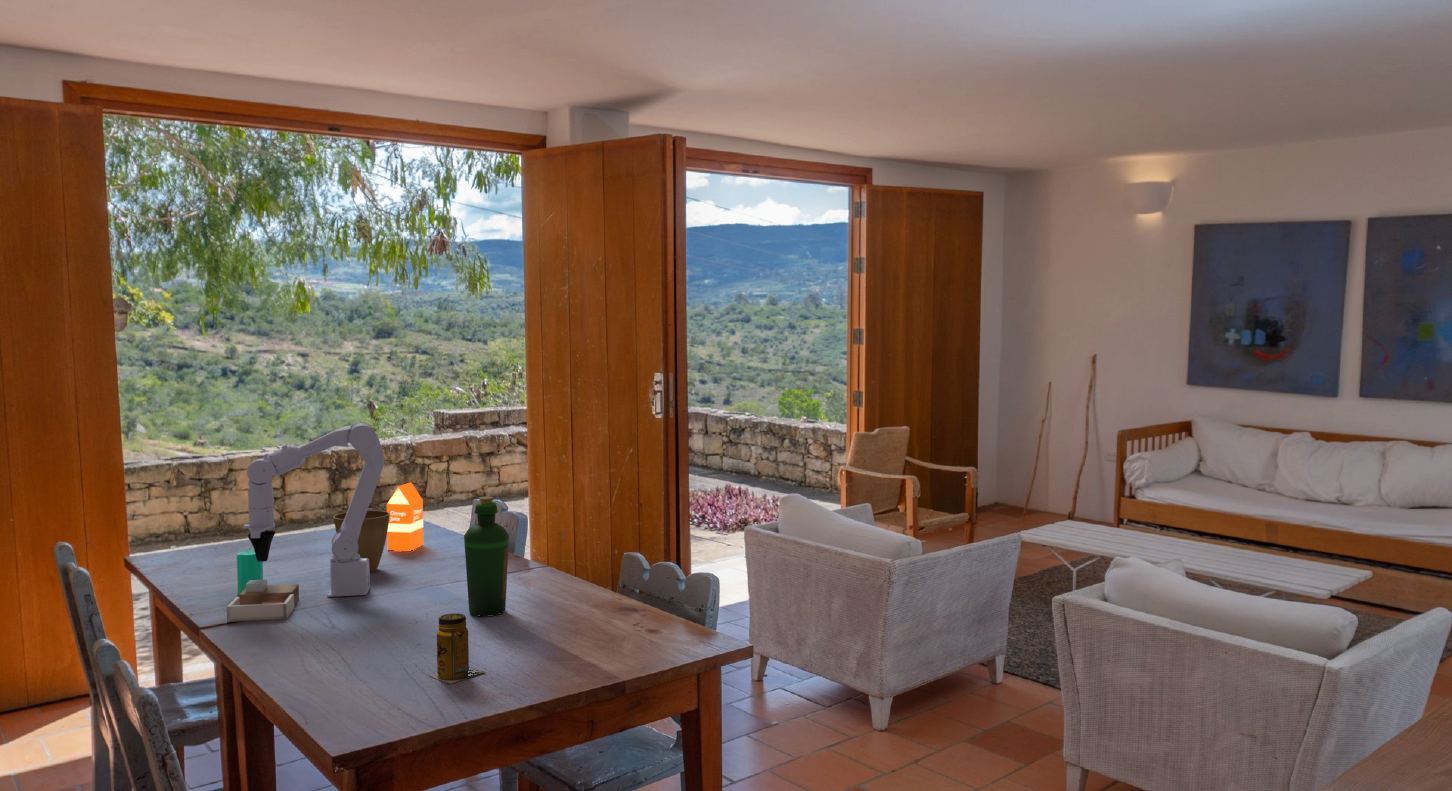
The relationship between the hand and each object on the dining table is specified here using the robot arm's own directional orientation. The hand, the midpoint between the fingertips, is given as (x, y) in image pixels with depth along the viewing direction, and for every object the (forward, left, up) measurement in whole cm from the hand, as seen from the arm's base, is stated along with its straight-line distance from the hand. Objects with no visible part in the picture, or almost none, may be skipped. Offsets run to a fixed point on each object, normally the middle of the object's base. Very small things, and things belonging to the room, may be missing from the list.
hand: (262, 560), depth 251 cm
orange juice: (-29, -54, -10) cm, 62 cm away
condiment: (-50, +65, -10) cm, 83 cm away
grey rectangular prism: (0, +5, -6) cm, 8 cm away
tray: (-3, +14, -10) cm, 17 cm away
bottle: (-55, +22, -10) cm, 60 cm away
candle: (+5, -8, -10) cm, 14 cm away
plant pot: (-20, -27, -10) cm, 35 cm away
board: (-3, +5, -10) cm, 12 cm away
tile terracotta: (-6, +15, -7) cm, 17 cm away
